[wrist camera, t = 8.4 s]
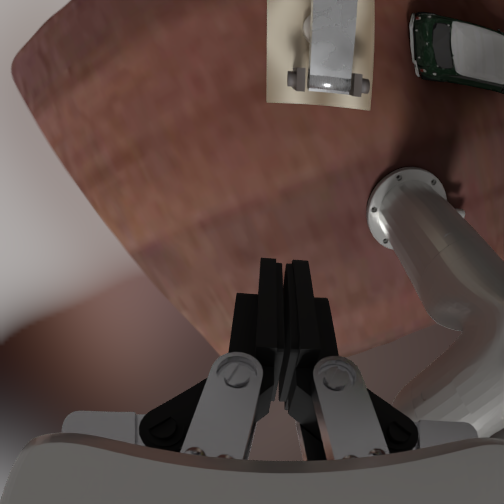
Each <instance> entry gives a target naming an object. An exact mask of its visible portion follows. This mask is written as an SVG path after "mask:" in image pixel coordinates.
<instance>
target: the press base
mask: <svg viewBox="0 0 504 504" xmlns="http://www.w3.org/2000/svg"><path fill="white" fill-rule="evenodd" d="M310 14H311V0H267V99H266V102H271V103H296V104H312V105H325V106H336V107H346V108H354V109H362V110H370V106H371V94H372V79H373V60H374V19H375V11H374V0H358V2H357V18H356V32H355V44H354V55H353V65H352V74H351V89H350V92H349V95H346V94H337V93H327V92H315V91H309V90H308V88H307V75H308V64H309V45H310V43H309V42H308V41H307V40H306V39H305V37H304V35H303V31H302V27H303V23H304V21H305V20H306V19H307V17H308V16H309V15H310Z"/></svg>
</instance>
